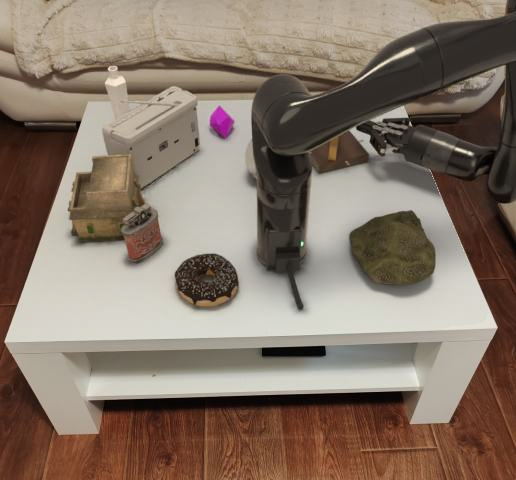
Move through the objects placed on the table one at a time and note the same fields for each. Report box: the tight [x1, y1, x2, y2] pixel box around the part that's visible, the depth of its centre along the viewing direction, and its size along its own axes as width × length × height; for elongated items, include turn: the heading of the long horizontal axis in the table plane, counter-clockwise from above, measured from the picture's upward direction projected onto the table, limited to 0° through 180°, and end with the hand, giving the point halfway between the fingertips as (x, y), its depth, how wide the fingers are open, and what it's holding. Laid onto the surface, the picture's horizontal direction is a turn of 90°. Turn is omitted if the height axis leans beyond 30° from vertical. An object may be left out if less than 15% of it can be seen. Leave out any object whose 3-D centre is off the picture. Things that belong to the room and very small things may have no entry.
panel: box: [309, 130, 370, 174], centre depth 127 cm, size 14×14×2 cm
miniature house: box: [67, 154, 147, 244], centre depth 110 cm, size 15×14×11 cm
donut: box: [174, 253, 240, 308], centre depth 102 cm, size 11×12×4 cm
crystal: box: [209, 105, 235, 139], centre depth 132 cm, size 5×5×5 cm
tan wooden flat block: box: [328, 135, 341, 161], centre depth 123 cm, size 10×2×7 cm, turn 168°
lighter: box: [121, 202, 164, 265], centre depth 105 cm, size 8×3×10 cm, turn 141°
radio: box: [101, 85, 201, 190], centre depth 118 cm, size 21×8×20 cm, turn 141°
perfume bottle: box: [104, 65, 131, 119], centre depth 128 cm, size 5×4×15 cm
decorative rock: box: [348, 209, 437, 286], centre depth 103 cm, size 15×16×10 cm
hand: (357, 123), depth 122 cm, fingers closed
